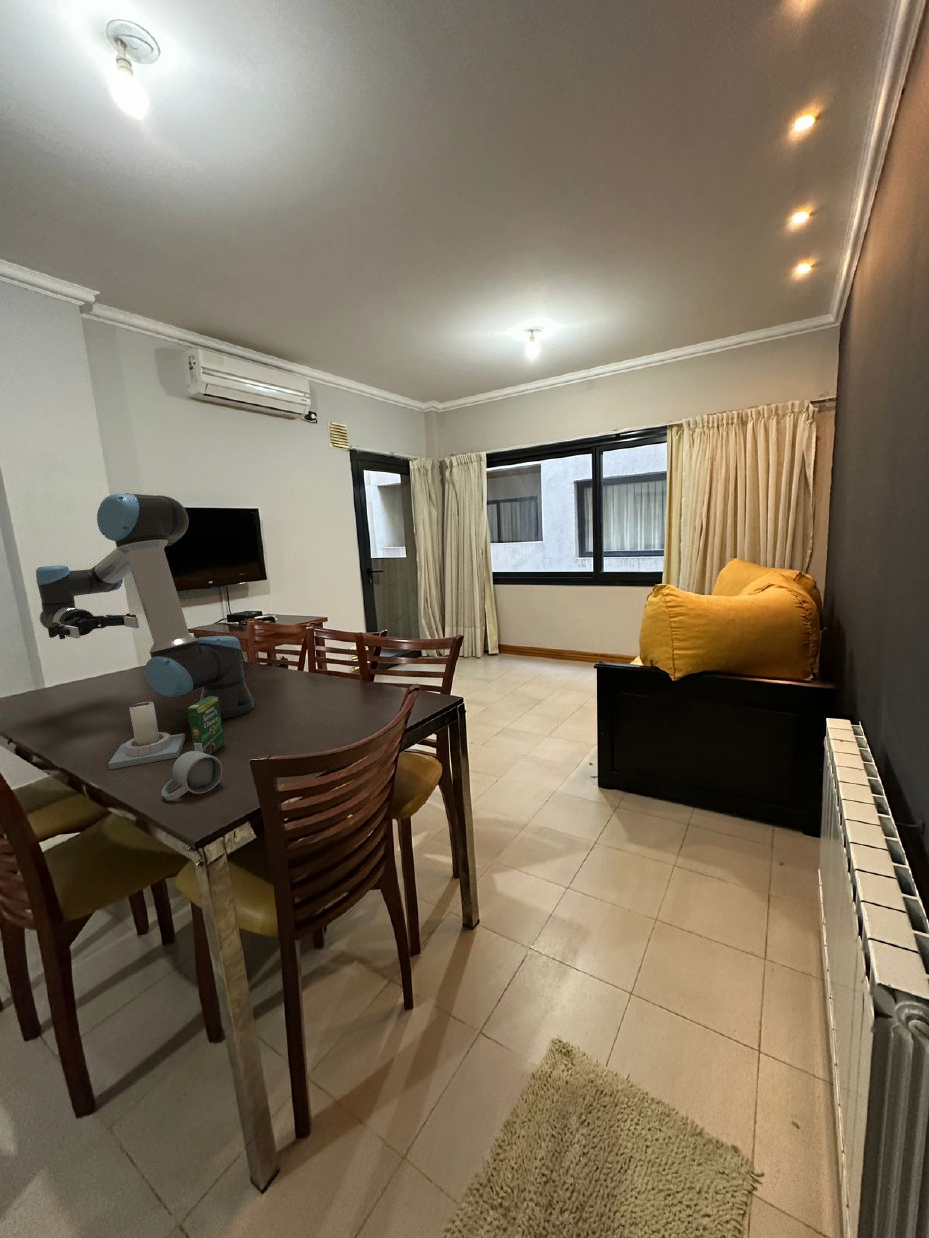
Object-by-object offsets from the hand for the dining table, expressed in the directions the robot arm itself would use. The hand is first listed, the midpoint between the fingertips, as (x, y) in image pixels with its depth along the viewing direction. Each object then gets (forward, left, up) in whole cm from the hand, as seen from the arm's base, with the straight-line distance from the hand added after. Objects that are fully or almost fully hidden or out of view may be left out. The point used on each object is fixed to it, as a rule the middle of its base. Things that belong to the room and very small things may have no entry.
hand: (108, 627), depth 128 cm
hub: (-8, +15, -30) cm, 35 cm away
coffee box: (-22, +21, -30) cm, 43 cm away
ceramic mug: (-21, +40, -30) cm, 54 cm away
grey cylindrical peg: (-8, +15, -29) cm, 33 cm away
